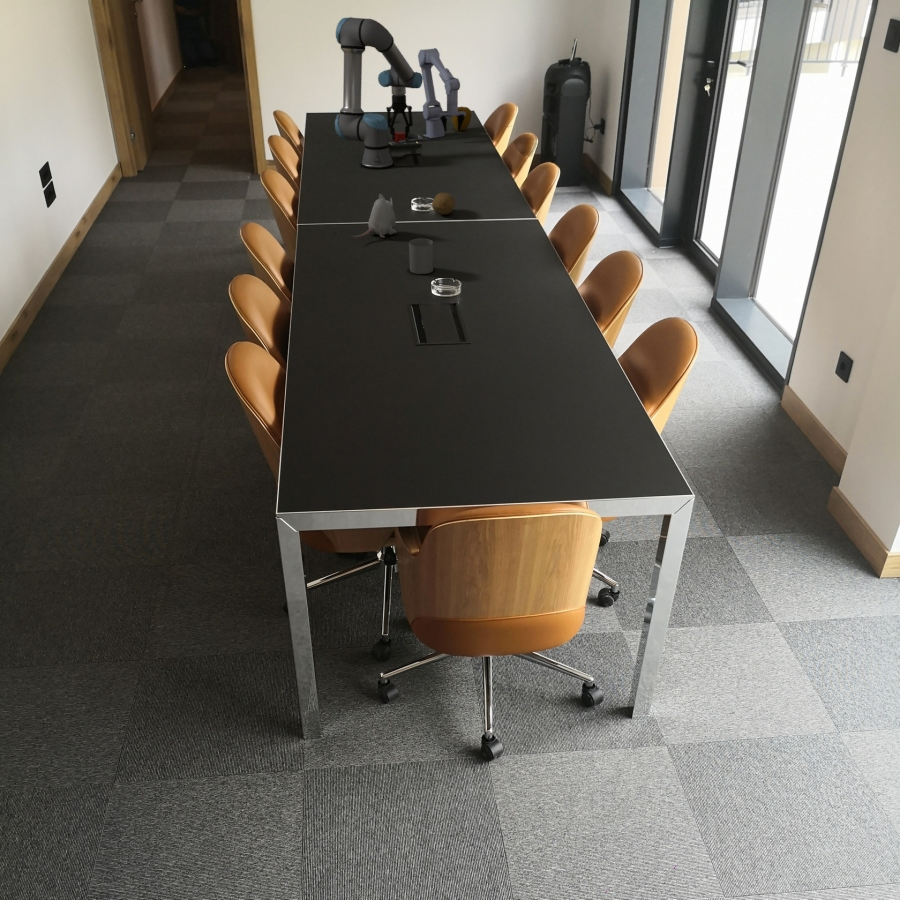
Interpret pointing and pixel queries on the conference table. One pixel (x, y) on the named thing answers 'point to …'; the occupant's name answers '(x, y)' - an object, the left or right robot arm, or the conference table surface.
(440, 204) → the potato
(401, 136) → the brick
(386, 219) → the toy
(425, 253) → the cup
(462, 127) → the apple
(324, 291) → the conference table surface
